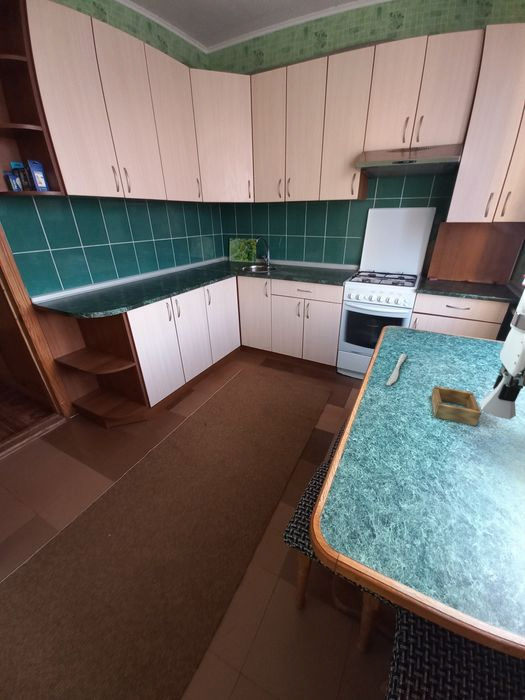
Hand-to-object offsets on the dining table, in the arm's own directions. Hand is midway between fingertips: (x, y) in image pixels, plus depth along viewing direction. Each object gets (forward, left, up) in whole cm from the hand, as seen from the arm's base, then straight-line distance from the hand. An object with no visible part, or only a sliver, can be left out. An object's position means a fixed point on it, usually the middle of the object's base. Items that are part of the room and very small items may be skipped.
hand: (503, 394), depth 68 cm
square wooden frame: (+5, -13, -16) cm, 21 cm away
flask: (0, 0, -5) cm, 5 cm away
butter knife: (+20, -33, -16) cm, 42 cm away
